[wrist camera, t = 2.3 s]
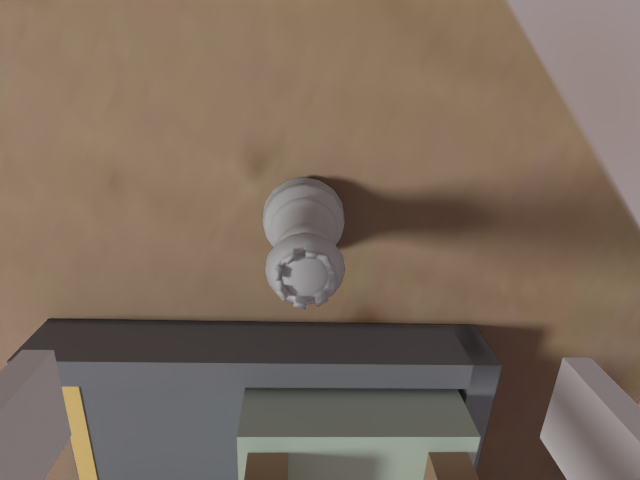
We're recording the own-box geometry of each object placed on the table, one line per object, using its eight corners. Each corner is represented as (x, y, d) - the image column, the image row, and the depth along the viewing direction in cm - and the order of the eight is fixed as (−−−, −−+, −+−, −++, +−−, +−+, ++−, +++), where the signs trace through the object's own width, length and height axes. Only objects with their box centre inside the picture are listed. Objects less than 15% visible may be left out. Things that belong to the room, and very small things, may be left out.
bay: (48, 318, 26) (6, 361, 22) (474, 324, 28) (502, 365, 24) (93, 525, 33) (67, 583, 29) (434, 521, 34) (450, 576, 31)
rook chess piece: (250, 193, 24) (227, 252, 16) (326, 162, 23) (339, 208, 16) (282, 262, 25) (275, 344, 18) (354, 234, 25) (378, 307, 18)
